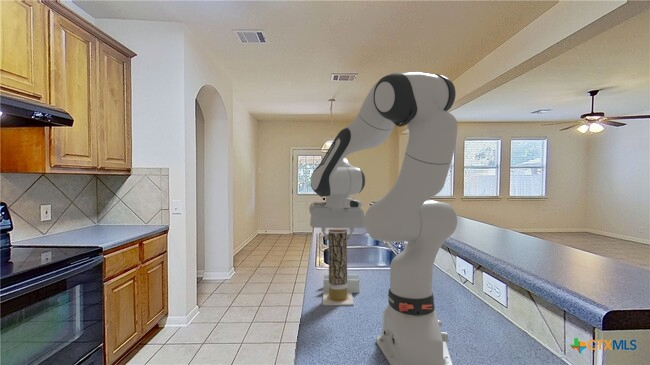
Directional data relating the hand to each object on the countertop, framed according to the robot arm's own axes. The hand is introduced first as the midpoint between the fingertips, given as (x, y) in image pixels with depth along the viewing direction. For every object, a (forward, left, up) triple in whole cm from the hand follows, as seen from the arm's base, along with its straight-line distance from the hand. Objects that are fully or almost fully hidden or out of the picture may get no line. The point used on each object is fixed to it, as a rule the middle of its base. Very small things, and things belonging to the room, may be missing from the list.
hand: (337, 239), depth 117 cm
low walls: (+10, -2, -22) cm, 24 cm away
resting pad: (0, 0, -22) cm, 22 cm away
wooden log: (0, 0, -22) cm, 22 cm away
